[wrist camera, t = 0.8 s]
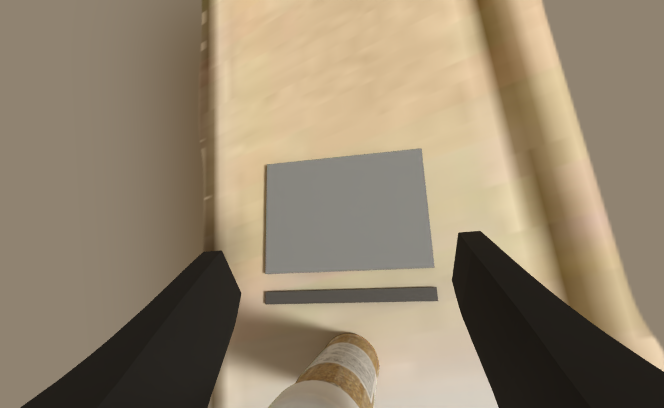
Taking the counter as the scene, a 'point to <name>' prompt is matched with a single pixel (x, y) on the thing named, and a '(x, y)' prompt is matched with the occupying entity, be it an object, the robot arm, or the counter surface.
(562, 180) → the counter surface
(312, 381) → the sprinkles bottle
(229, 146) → the counter surface
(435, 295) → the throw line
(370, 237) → the mat
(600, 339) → the robot arm
